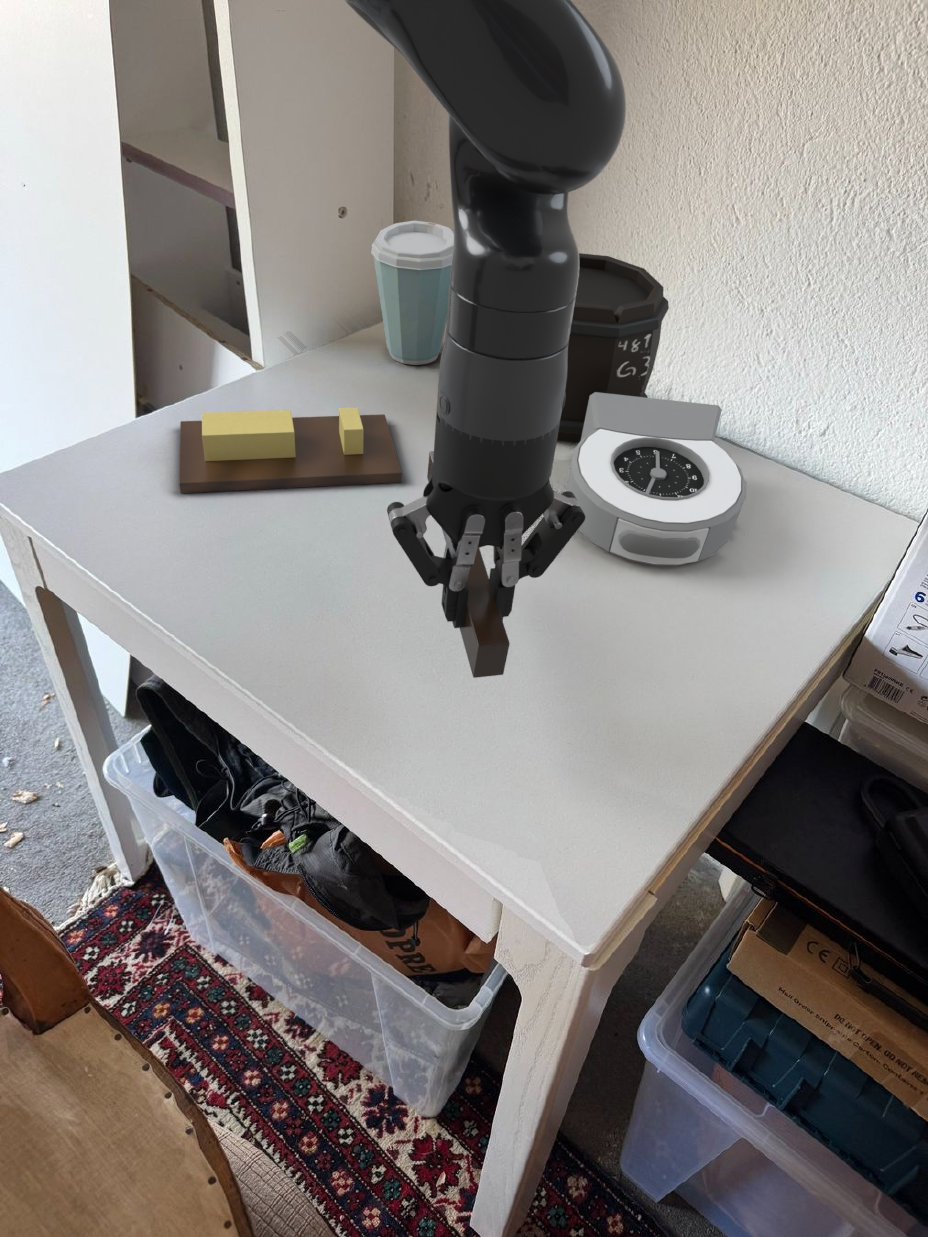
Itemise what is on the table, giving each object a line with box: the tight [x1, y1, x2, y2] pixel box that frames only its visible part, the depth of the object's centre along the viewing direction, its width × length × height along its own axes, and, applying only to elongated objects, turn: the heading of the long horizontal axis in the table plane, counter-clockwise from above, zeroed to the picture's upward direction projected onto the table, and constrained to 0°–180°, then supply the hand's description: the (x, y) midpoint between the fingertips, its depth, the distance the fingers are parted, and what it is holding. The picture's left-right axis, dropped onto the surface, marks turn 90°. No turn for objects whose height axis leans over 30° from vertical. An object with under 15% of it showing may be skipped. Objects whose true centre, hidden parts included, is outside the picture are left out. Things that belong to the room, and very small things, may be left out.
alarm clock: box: [564, 392, 747, 567], centre depth 93 cm, size 17×9×19 cm
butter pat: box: [338, 407, 363, 455], centre depth 97 cm, size 2×4×3 cm, turn 12°
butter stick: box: [201, 409, 295, 461], centre depth 95 cm, size 9×4×3 cm, turn 102°
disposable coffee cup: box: [370, 220, 454, 366], centre depth 113 cm, size 11×11×15 cm
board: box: [178, 413, 403, 494], centre depth 97 cm, size 22×12×1 cm, turn 102°
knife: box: [426, 450, 511, 679], centre depth 70 cm, size 22×2×3 cm, turn 12°
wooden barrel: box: [557, 252, 670, 444], centre depth 105 cm, size 18×18×16 cm
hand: (474, 618), depth 67 cm, fingers closed on knife, 2 cm apart
